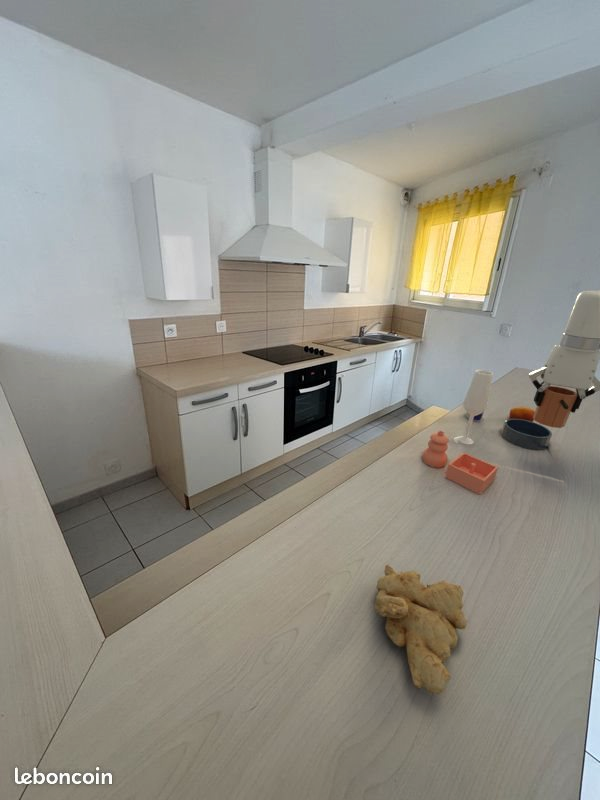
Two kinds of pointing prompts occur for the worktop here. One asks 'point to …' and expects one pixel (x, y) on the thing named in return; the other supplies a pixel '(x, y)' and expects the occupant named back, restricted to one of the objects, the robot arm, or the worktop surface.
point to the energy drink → (475, 417)
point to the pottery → (459, 465)
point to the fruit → (522, 413)
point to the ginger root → (421, 623)
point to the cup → (555, 407)
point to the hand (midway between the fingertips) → (554, 407)
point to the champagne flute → (476, 400)
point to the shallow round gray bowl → (526, 434)
